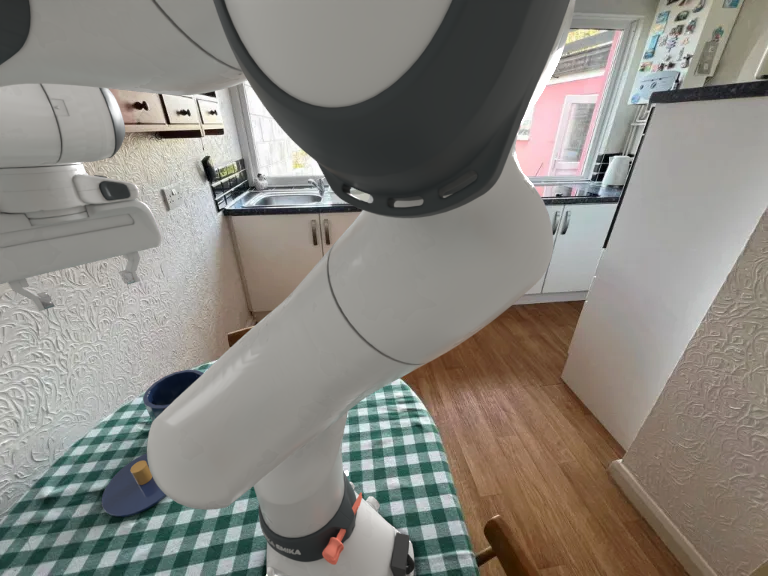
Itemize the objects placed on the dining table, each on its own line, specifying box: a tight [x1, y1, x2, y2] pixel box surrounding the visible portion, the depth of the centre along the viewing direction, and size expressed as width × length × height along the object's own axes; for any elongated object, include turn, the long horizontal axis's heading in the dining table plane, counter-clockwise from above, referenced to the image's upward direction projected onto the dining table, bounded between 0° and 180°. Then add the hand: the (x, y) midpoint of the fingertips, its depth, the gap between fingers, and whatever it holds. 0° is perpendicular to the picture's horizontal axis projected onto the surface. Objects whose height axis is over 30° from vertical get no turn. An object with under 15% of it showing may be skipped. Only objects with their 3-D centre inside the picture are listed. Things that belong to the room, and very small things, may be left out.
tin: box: [142, 369, 205, 423], centre depth 70 cm, size 12×12×10 cm
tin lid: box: [101, 452, 168, 518], centre depth 57 cm, size 13×13×5 cm
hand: (92, 294), depth 43 cm, fingers open, 8 cm apart
